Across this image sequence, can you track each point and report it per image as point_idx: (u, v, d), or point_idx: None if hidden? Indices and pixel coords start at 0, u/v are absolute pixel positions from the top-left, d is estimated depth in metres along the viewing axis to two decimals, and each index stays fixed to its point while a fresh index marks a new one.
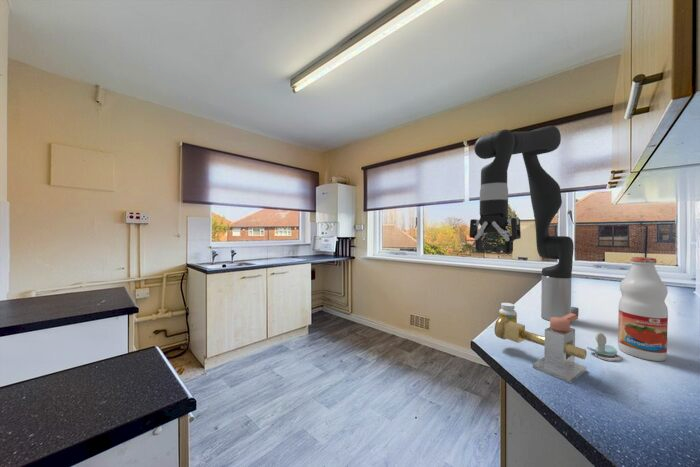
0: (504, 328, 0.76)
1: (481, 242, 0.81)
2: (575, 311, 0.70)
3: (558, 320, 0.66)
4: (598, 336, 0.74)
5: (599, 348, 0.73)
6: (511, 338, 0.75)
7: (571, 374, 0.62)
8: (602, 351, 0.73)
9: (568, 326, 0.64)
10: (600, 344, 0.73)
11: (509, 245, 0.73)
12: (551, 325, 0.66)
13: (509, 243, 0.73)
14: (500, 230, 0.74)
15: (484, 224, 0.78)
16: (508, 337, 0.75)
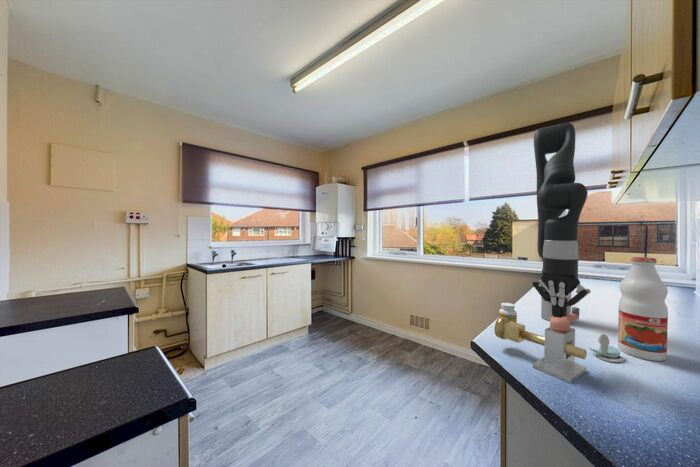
0: (504, 328, 0.76)
1: None
2: (576, 311, 0.70)
3: (558, 320, 0.66)
4: (601, 337, 0.73)
5: (602, 349, 0.73)
6: (511, 338, 0.75)
7: (571, 374, 0.62)
8: (605, 352, 0.72)
9: (568, 326, 0.64)
10: (603, 345, 0.72)
11: (563, 311, 0.69)
12: (551, 325, 0.67)
13: (563, 309, 0.69)
14: (562, 294, 0.69)
15: (550, 284, 0.71)
16: (508, 337, 0.75)
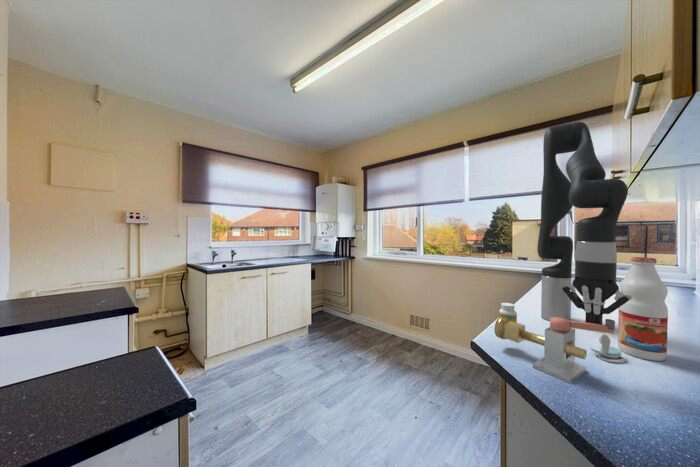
0: (504, 328, 0.76)
1: None
2: (607, 323, 0.61)
3: (556, 319, 0.67)
4: (602, 337, 0.73)
5: (603, 350, 0.72)
6: (511, 338, 0.75)
7: (571, 374, 0.62)
8: (606, 353, 0.72)
9: (559, 325, 0.65)
10: (604, 346, 0.72)
11: (599, 319, 0.63)
12: None
13: (599, 317, 0.63)
14: (598, 301, 0.62)
15: (584, 289, 0.64)
16: (508, 337, 0.75)
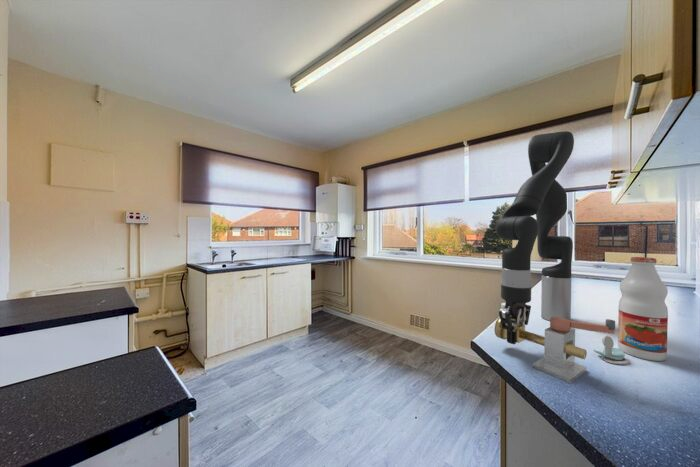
0: None
1: None
2: (607, 323, 0.61)
3: (556, 319, 0.67)
4: (605, 339, 0.72)
5: (606, 351, 0.72)
6: None
7: (571, 374, 0.62)
8: (609, 354, 0.71)
9: (559, 325, 0.65)
10: (607, 347, 0.71)
11: None
12: None
13: None
14: None
15: None
16: None
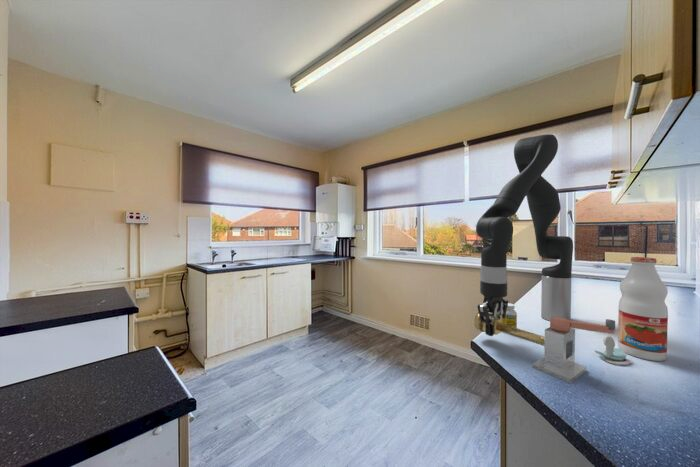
0: None
1: None
2: (607, 323, 0.61)
3: (556, 319, 0.67)
4: (606, 339, 0.71)
5: (607, 352, 0.71)
6: None
7: (571, 374, 0.62)
8: (610, 355, 0.71)
9: (559, 325, 0.65)
10: (608, 347, 0.71)
11: None
12: None
13: None
14: None
15: None
16: None
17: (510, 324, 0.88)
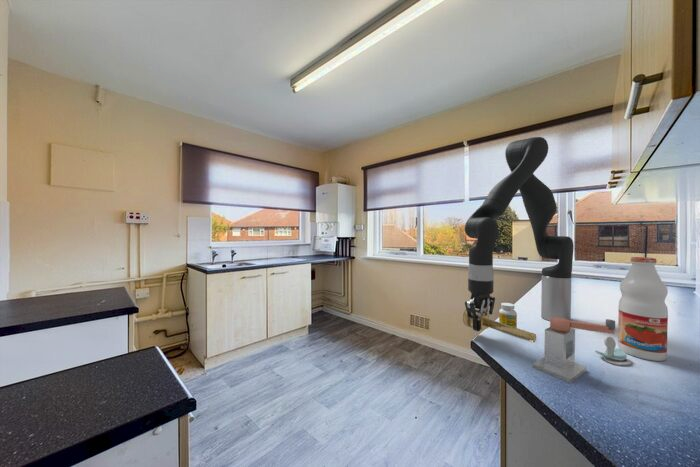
0: None
1: None
2: (607, 323, 0.61)
3: (556, 319, 0.67)
4: (607, 339, 0.71)
5: (608, 352, 0.71)
6: None
7: (571, 374, 0.62)
8: (611, 355, 0.71)
9: (559, 325, 0.65)
10: (609, 348, 0.71)
11: None
12: None
13: None
14: None
15: None
16: None
17: (510, 324, 0.88)
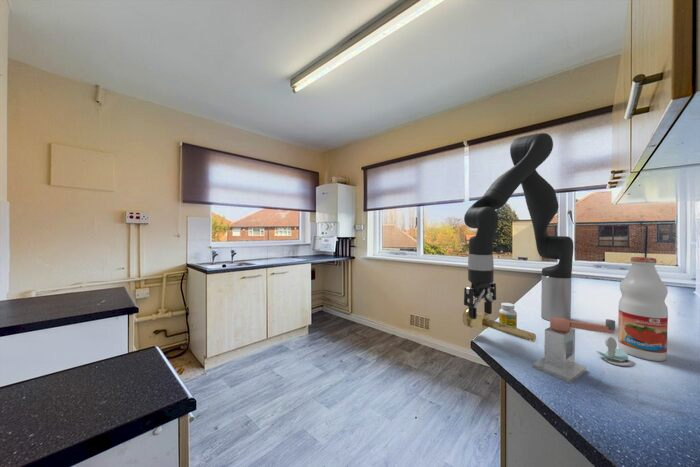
0: None
1: (488, 305, 0.86)
2: (607, 323, 0.61)
3: (556, 319, 0.67)
4: (608, 340, 0.71)
5: (609, 352, 0.71)
6: (476, 326, 0.84)
7: (571, 374, 0.62)
8: (612, 356, 0.71)
9: (559, 325, 0.65)
10: (610, 348, 0.71)
11: None
12: None
13: None
14: None
15: None
16: (474, 325, 0.85)
17: (510, 324, 0.88)
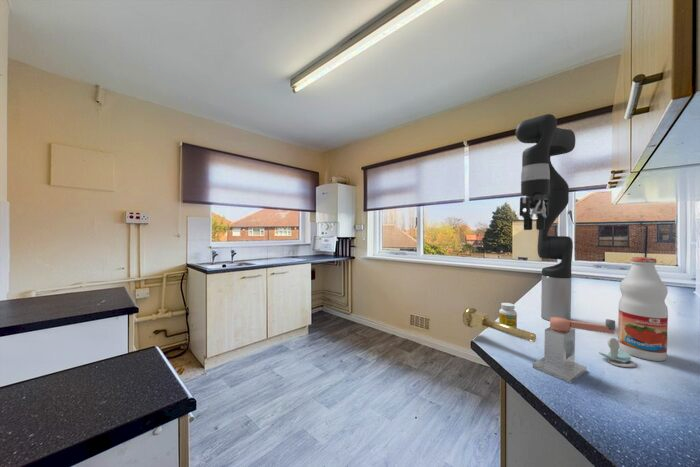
0: (470, 317, 0.86)
1: (541, 220, 0.85)
2: (607, 323, 0.61)
3: (556, 319, 0.67)
4: (611, 341, 0.70)
5: (612, 353, 0.70)
6: (476, 326, 0.84)
7: (571, 374, 0.62)
8: (615, 357, 0.70)
9: (559, 325, 0.65)
10: (613, 349, 0.70)
11: None
12: None
13: None
14: None
15: None
16: (474, 325, 0.85)
17: (510, 324, 0.88)
